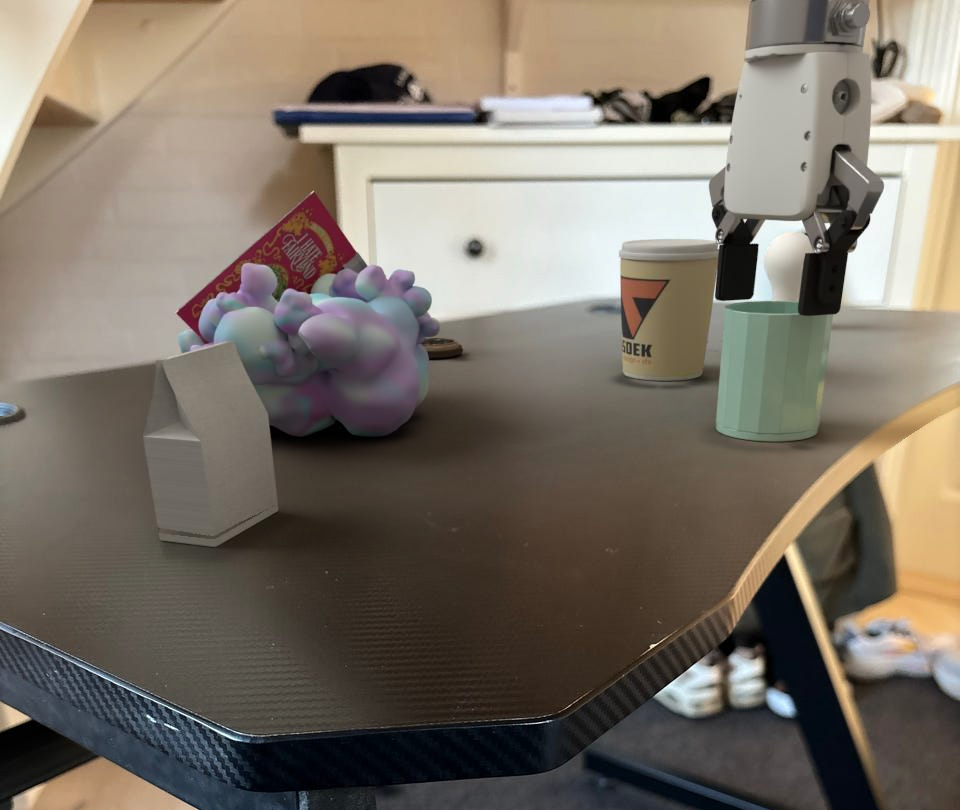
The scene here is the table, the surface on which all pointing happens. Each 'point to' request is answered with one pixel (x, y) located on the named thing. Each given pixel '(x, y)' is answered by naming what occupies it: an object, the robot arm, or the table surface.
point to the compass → (441, 347)
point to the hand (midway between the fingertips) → (773, 306)
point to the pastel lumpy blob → (318, 328)
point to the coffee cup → (666, 306)
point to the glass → (771, 371)
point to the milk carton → (208, 446)
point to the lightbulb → (786, 265)
